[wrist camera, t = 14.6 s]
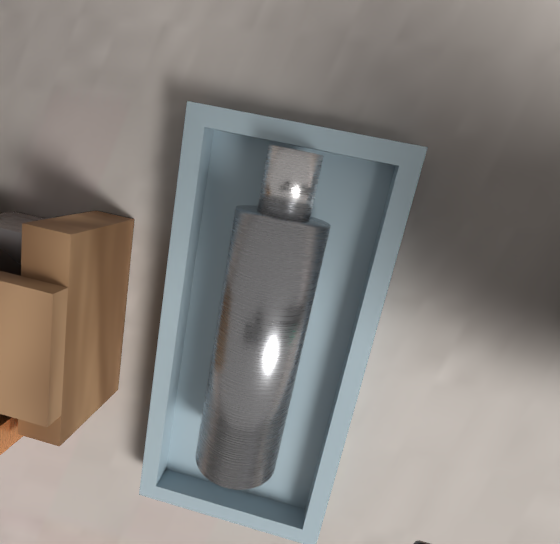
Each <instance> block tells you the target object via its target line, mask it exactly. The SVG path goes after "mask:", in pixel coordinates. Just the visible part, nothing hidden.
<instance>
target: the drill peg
mask: <svg viewBox="0 0 560 544" xmlns="http://www.w3.org/2000/svg"><path fill="white" fill-rule="evenodd" d="M322 161H323V155H319V154H315V153H310V152H305V151H300V150H295V149H290V148H285V147H280V146H275V145H269V146H268V152H267V157H266V163H265V169H264V174H263V180H262V186H261V191H260V197H259V203H258V206H254V205H239V206H236V208H235V214H234V220H233V226H232V232H231V239H230V245H229V251H228V257H227V263H226V269H225V276H224V282H223V288H222V294H221V300H220V306H219V313H218V319H217V325H216V331H215V337H214V343H213V350H212V356H211V362H210V368H209V374H208V380H207V387H206V393H205V399H204V405H203V411H202V417H201V424H200V430H199V436H198V442H197V448H196V455H195V458H196V464H197V466H198V468H199V470H200V472H201V473H202V474H203V475H204V476H205V477H206V478H207V479H208V480H210V481H211V482H213V483H215V484H217V485H219V486H221V487H224V488H228V489H234V490H246V489H252V488H255V487H258V486H260V485H262V484H264V483H265V482H266V481H268V480H269V479H270V478H271V476H272V475H273V473H274V471H275V467H276V463H277V458H278V454H279V450H280V445H281V441H282V436H283V432H284V428H285V423H286V419H287V415H288V410H289V406H290V401H291V397H292V393H293V388H294V384H295V380H296V375H297V371H298V367H299V362H300V358H301V353H302V349H303V345H304V340H305V336H306V332H307V327H308V323H309V318H310V314H311V310H312V305H313V301H314V297H315V292H316V288H317V284H318V279H319V275H320V270H321V266H322V262H323V257H324V253H325V249H326V244H327V240H328V235H329V231H330V227H331V225H330V224H329V223H327V222H325V221H323V220H320V219H318V218H315V217H311V212H312V208H313V203H314V198H315V194H316V189H317V184H318V180H319V175H320V170H321V166H322Z"/></svg>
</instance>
